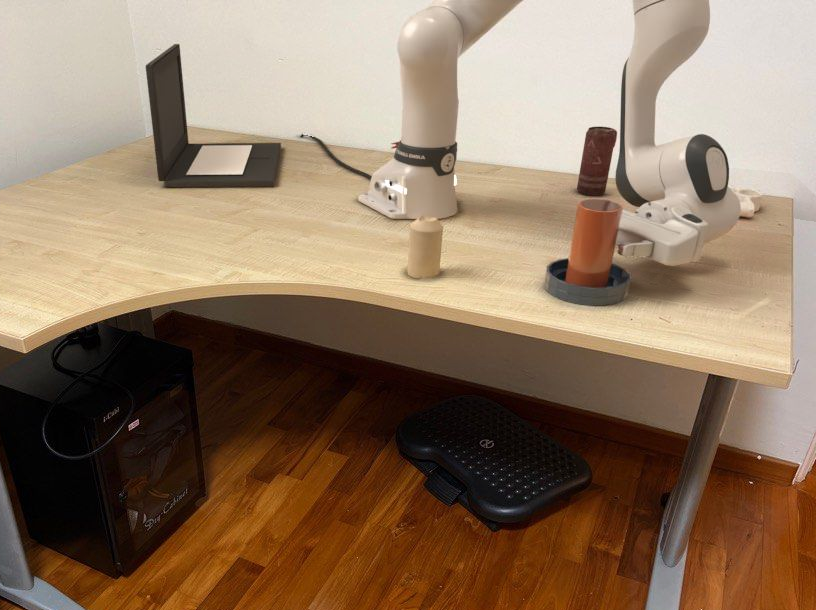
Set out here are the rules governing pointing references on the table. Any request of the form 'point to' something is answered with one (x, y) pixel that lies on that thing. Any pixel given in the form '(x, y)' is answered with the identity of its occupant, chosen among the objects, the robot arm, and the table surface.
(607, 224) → the tumbler
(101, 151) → the table surface
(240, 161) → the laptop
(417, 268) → the candle
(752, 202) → the white brass knuckles
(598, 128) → the can
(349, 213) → the table surface
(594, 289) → the bowl
